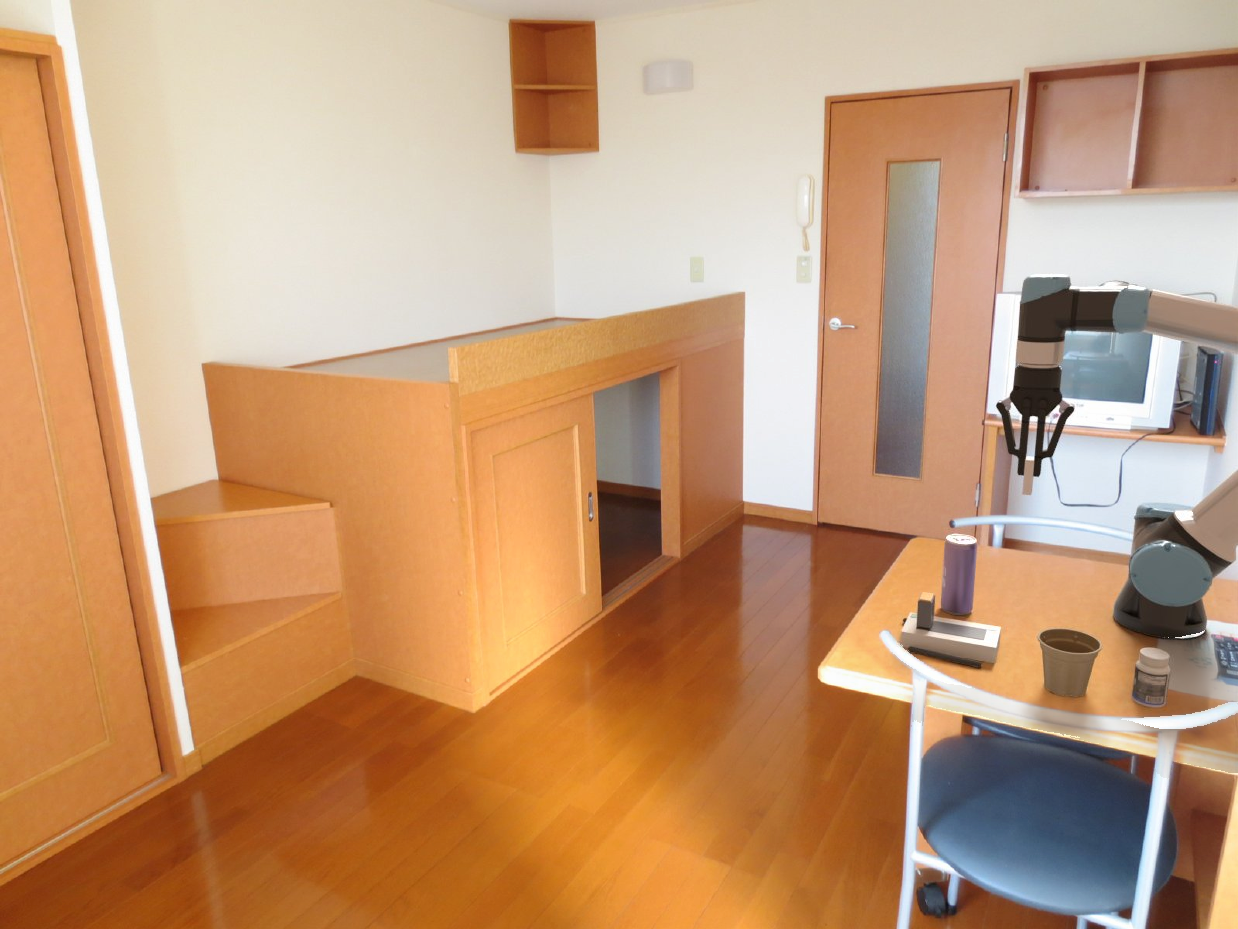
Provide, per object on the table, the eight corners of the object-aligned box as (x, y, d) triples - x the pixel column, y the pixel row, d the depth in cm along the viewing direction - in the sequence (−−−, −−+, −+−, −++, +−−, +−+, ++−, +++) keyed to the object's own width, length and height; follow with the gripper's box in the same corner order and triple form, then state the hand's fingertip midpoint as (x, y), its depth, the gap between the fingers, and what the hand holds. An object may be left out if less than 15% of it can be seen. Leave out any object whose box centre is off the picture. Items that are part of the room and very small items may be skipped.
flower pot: (1028, 693, 144) (1032, 645, 142) (1038, 669, 152) (1042, 623, 150) (1092, 708, 139) (1098, 659, 137) (1099, 683, 147) (1105, 635, 144)
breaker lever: (933, 619, 164) (935, 593, 163) (930, 628, 161) (931, 601, 159) (920, 617, 165) (921, 591, 164) (916, 626, 162) (918, 599, 160)
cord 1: (981, 666, 153) (981, 661, 153) (980, 669, 153) (980, 663, 152) (908, 650, 160) (908, 645, 160) (906, 652, 159) (907, 647, 159)
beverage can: (974, 617, 172) (980, 544, 169) (942, 615, 174) (947, 543, 170) (969, 604, 178) (974, 534, 174) (938, 603, 179) (942, 533, 175)
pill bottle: (1138, 690, 144) (1144, 643, 142) (1170, 701, 141) (1177, 653, 138) (1126, 700, 141) (1132, 652, 139) (1158, 712, 138) (1165, 663, 136)
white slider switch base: (999, 642, 162) (1001, 626, 161) (994, 663, 154) (996, 647, 154) (909, 626, 169) (910, 612, 168) (900, 646, 162) (901, 631, 161)
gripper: (1080, 362, 156) (1067, 491, 162) (1000, 360, 162) (990, 483, 168) (1079, 369, 149) (1066, 502, 155) (996, 366, 155) (986, 494, 161)
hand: (1027, 492), depth 162 cm, fingers closed
